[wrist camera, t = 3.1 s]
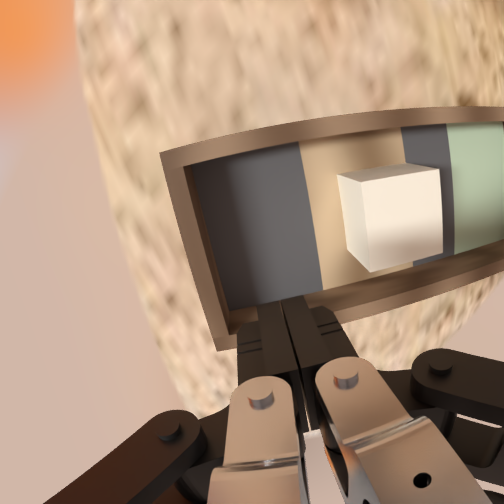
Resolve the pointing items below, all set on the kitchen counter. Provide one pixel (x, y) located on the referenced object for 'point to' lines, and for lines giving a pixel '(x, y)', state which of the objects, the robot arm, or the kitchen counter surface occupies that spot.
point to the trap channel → (331, 211)
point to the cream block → (392, 214)
